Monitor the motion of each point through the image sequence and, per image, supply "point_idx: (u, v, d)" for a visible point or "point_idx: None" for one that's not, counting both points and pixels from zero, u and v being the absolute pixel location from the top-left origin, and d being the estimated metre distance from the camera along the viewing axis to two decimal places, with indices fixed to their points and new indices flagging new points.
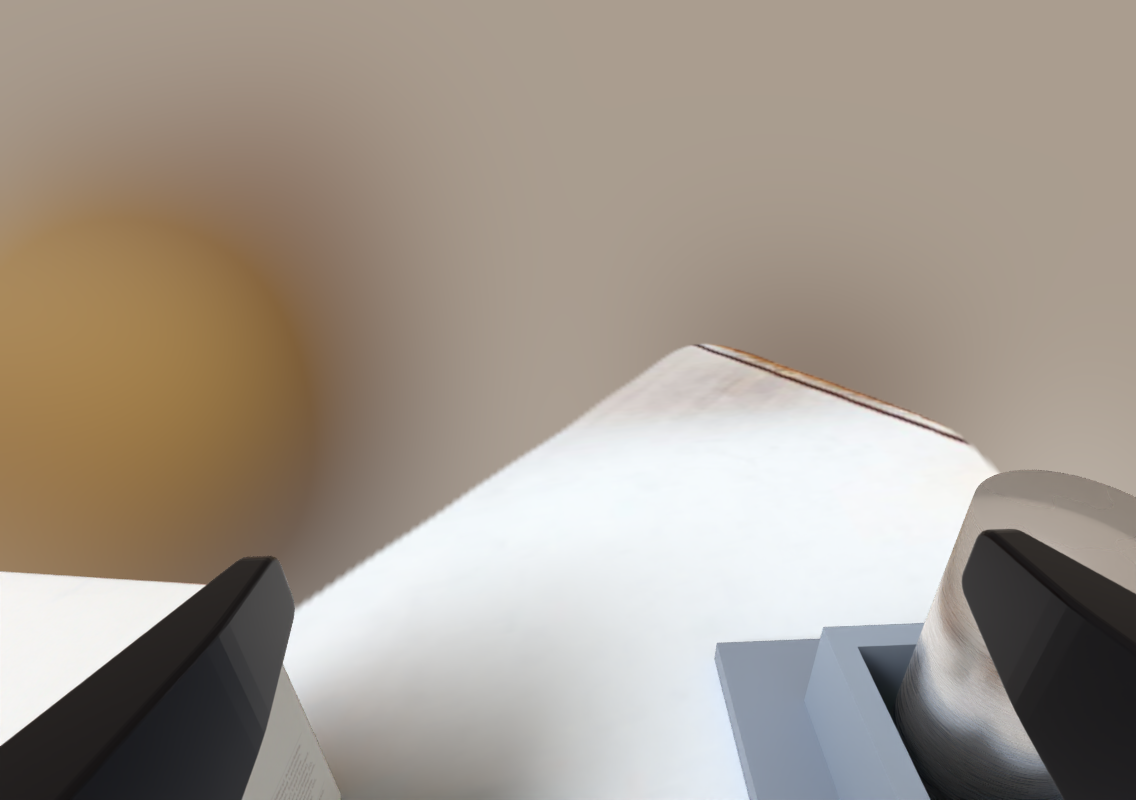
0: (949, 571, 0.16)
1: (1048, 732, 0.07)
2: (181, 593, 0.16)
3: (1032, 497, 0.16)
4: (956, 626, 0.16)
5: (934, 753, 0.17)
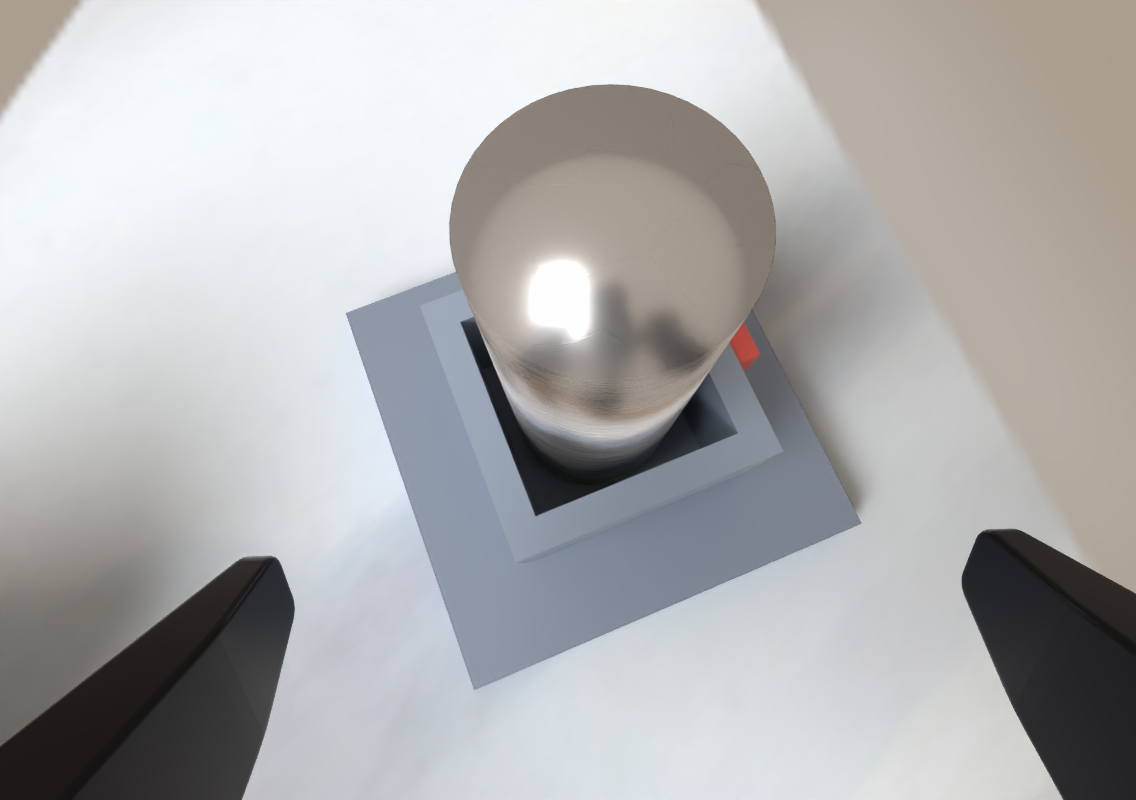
0: None
1: (1048, 732, 0.07)
2: None
3: (550, 165, 0.09)
4: (492, 360, 0.11)
5: (535, 441, 0.15)
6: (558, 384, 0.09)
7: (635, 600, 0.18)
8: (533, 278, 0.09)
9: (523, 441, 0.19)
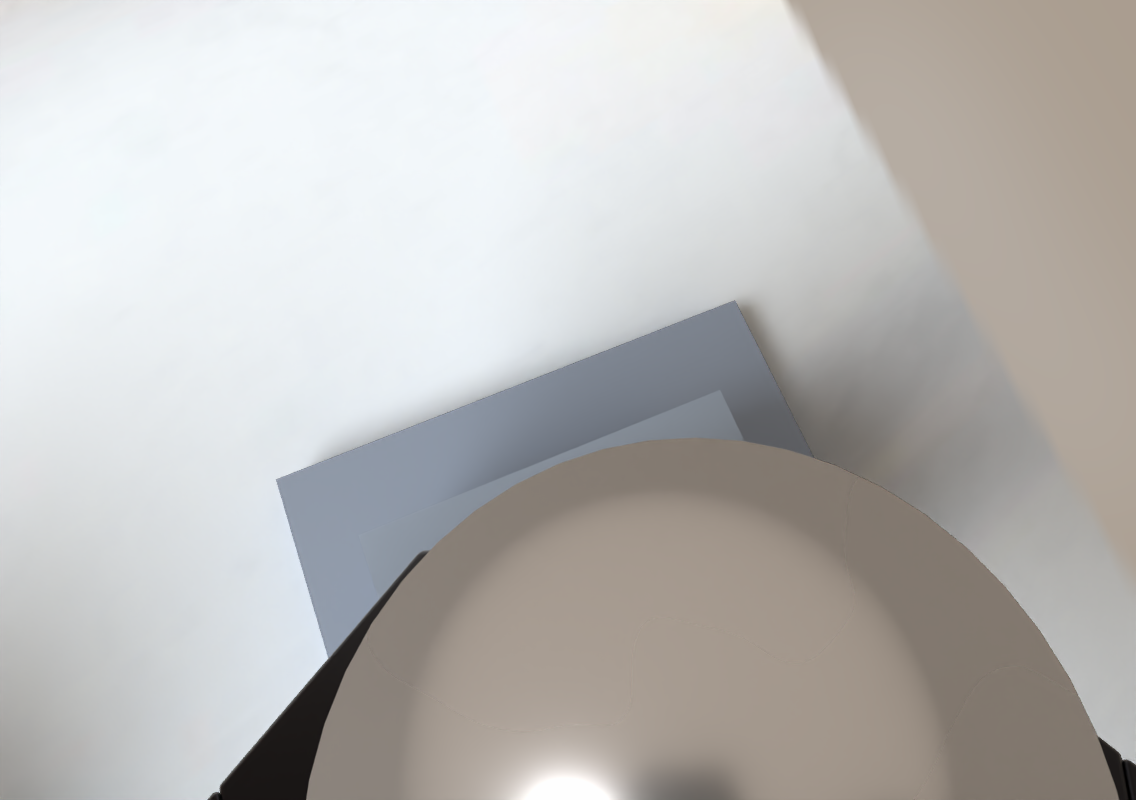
0: None
1: None
2: None
3: (555, 667, 0.04)
4: None
5: None
6: None
7: None
8: None
9: None
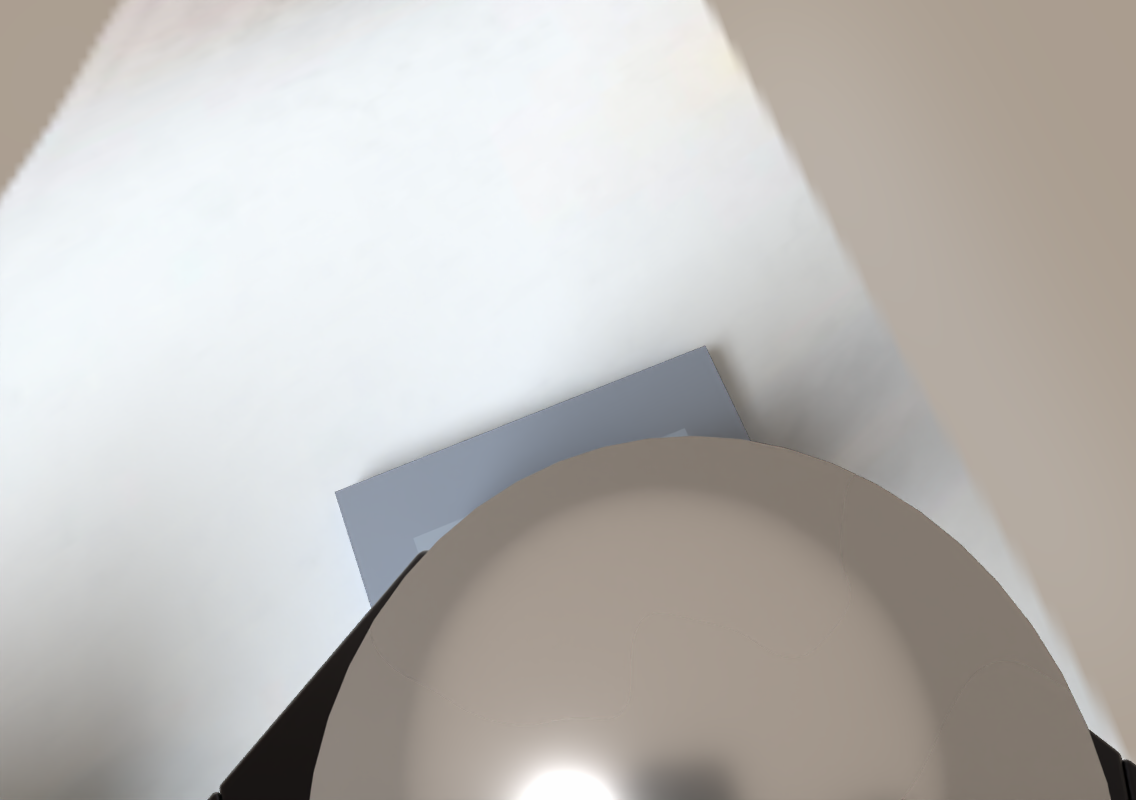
0: None
1: None
2: None
3: (555, 661, 0.04)
4: None
5: None
6: None
7: None
8: None
9: None
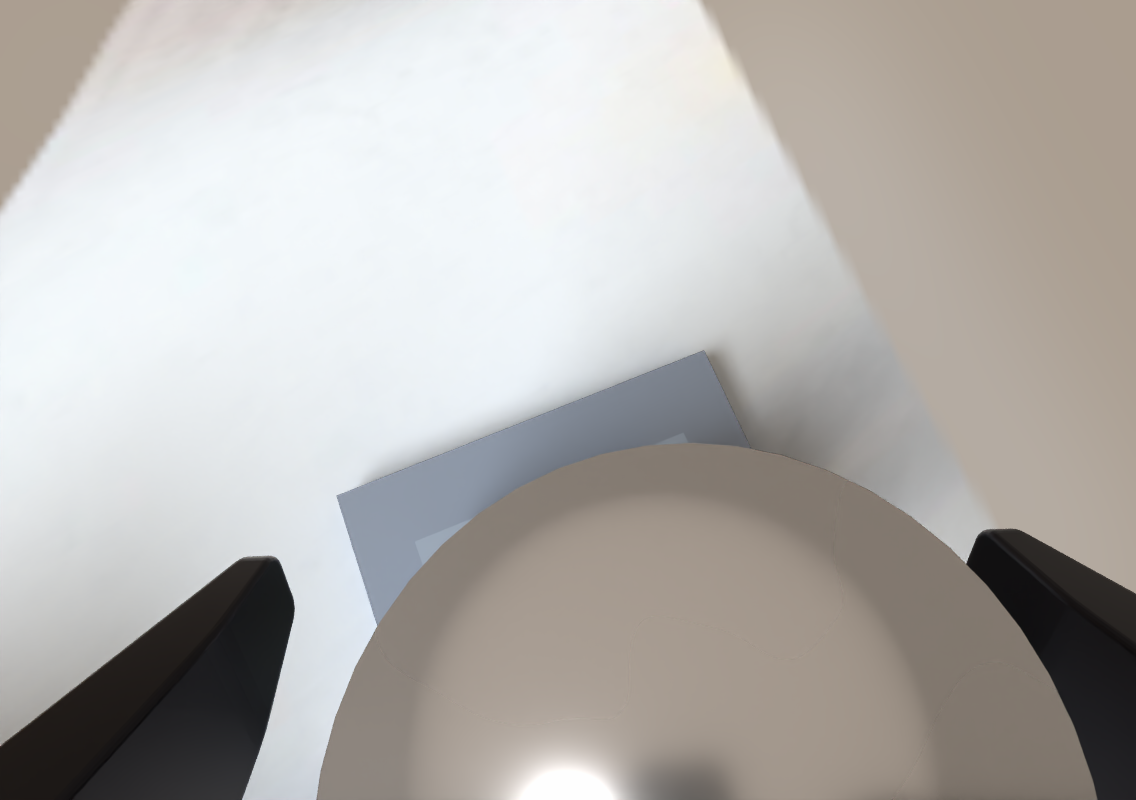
0: None
1: None
2: None
3: (556, 663, 0.04)
4: None
5: None
6: None
7: None
8: None
9: None
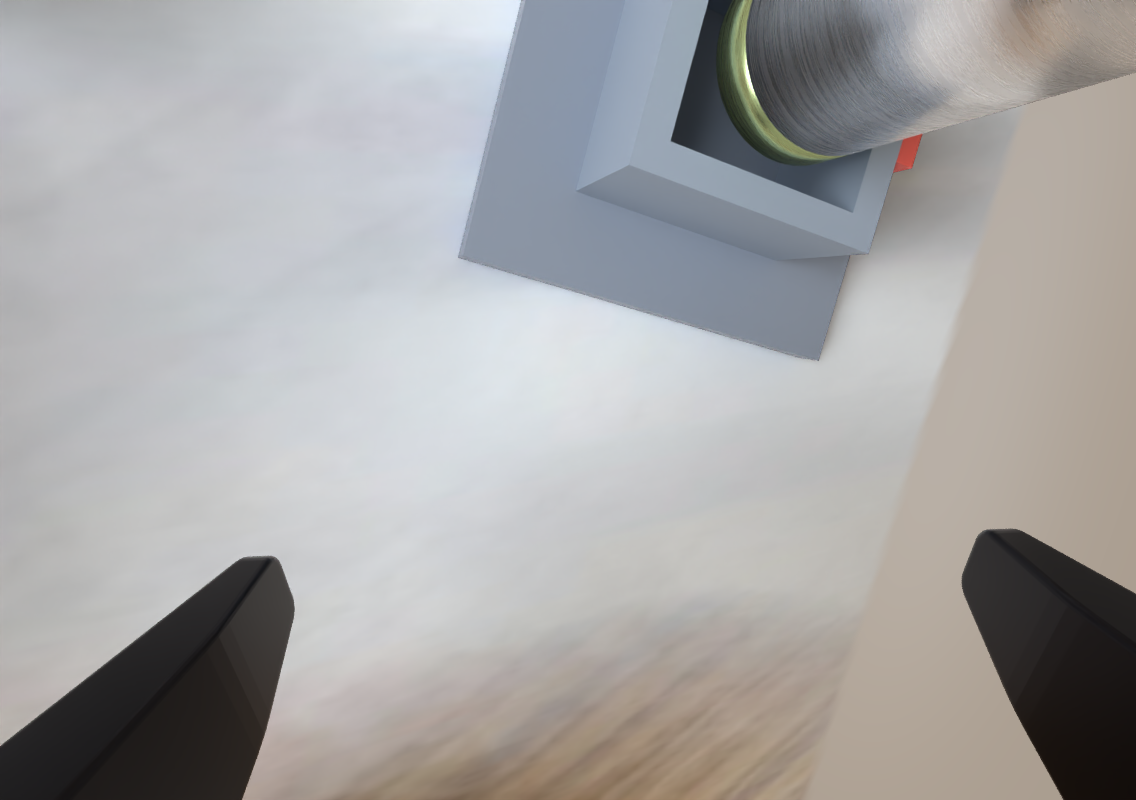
0: None
1: (1048, 732, 0.07)
2: None
3: None
4: None
5: (833, 4, 0.11)
6: None
7: (634, 288, 0.19)
8: None
9: None
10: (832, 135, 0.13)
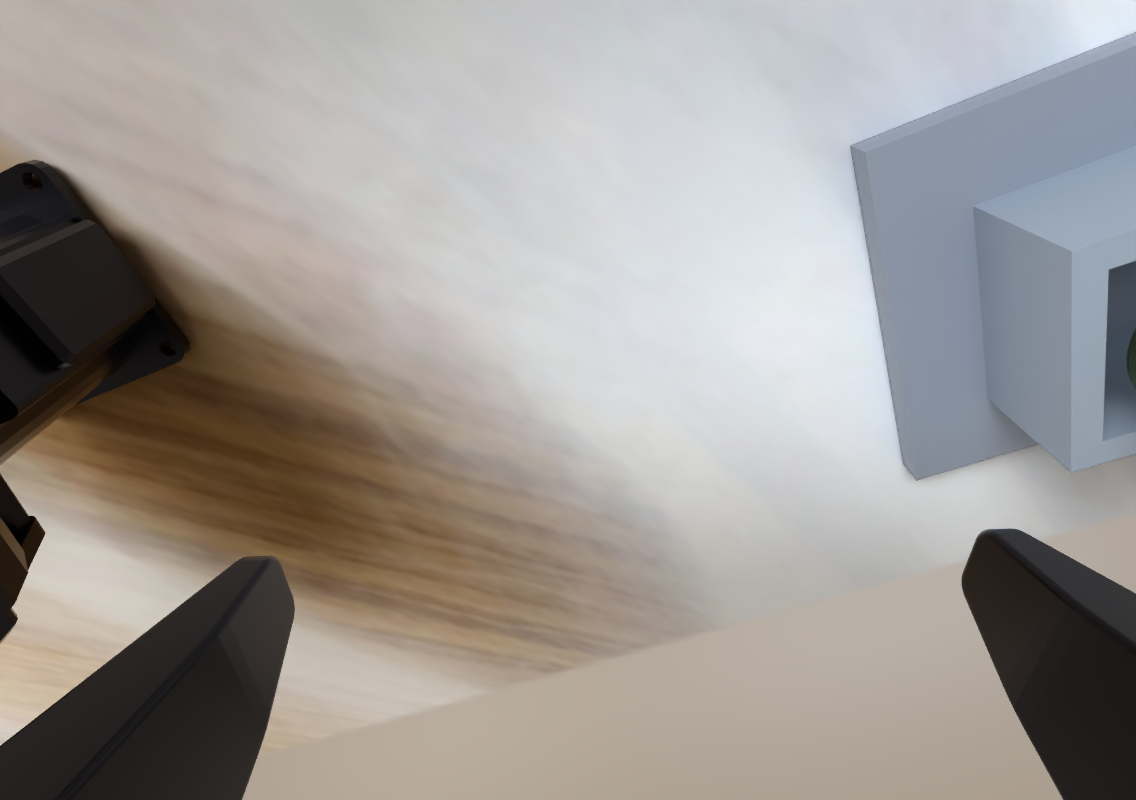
0: None
1: (1048, 732, 0.07)
2: None
3: None
4: None
5: None
6: None
7: (907, 308, 0.20)
8: None
9: None
10: None
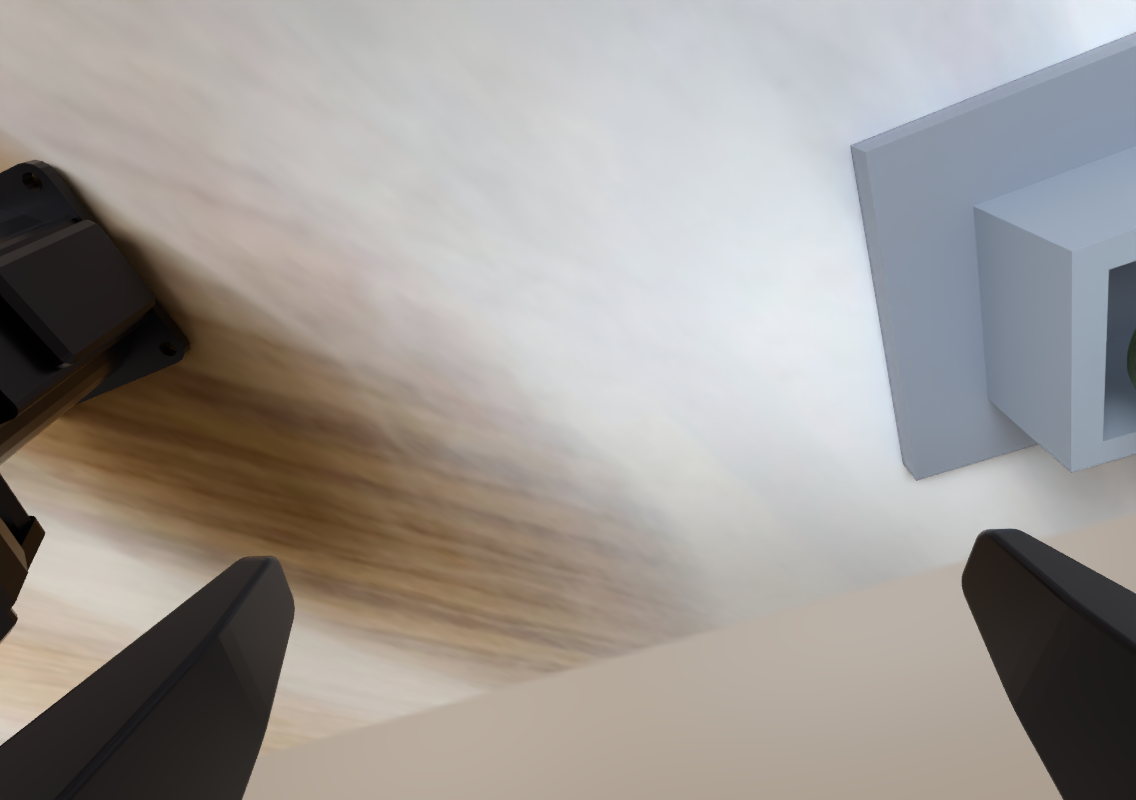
0: None
1: (1048, 732, 0.07)
2: None
3: None
4: None
5: None
6: None
7: (907, 308, 0.20)
8: None
9: None
10: None
